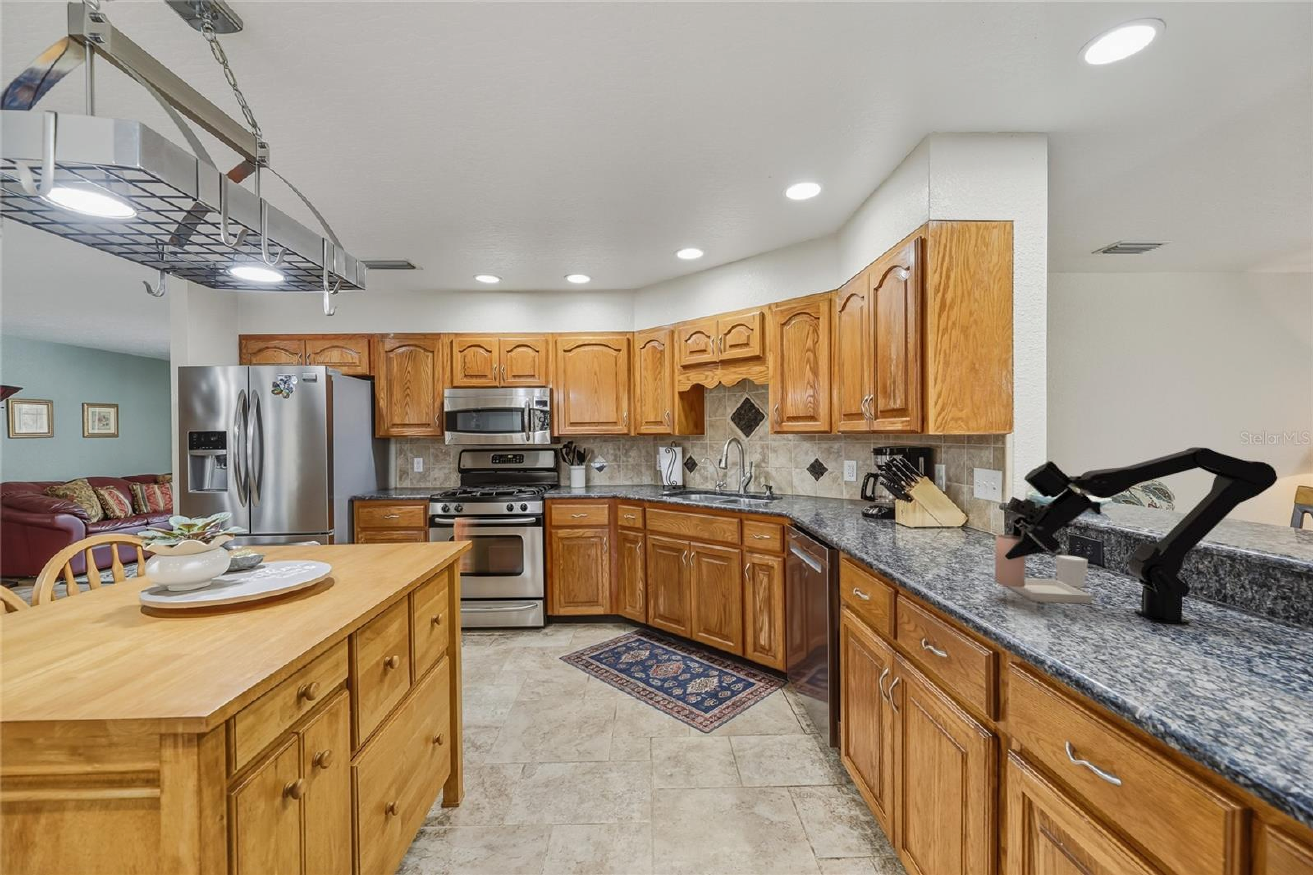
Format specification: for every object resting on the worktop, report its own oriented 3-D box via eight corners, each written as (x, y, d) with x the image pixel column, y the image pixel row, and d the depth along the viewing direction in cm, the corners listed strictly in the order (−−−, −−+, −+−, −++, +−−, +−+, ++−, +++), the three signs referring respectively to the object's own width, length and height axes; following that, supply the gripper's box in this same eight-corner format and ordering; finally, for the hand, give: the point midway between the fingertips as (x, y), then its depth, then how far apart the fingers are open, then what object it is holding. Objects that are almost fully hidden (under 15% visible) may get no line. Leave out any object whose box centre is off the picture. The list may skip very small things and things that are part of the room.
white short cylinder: (1075, 580, 145) (1076, 555, 145) (1094, 588, 138) (1094, 561, 138) (1049, 579, 146) (1049, 554, 146) (1065, 587, 139) (1066, 560, 139)
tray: (1091, 603, 125) (1091, 595, 125) (1032, 601, 127) (1033, 593, 127) (1055, 587, 138) (1056, 579, 138) (1002, 585, 140) (1003, 577, 139)
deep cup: (1030, 587, 123) (1031, 540, 123) (1003, 586, 124) (1004, 539, 124) (1015, 580, 129) (1016, 534, 129) (989, 579, 130) (990, 534, 130)
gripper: (1021, 482, 133) (970, 523, 138) (1043, 490, 116) (983, 536, 120) (1058, 516, 130) (1005, 556, 135) (1087, 529, 113) (1024, 574, 118)
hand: (1003, 555), depth 127 cm, fingers closed on deep cup, 6 cm apart
